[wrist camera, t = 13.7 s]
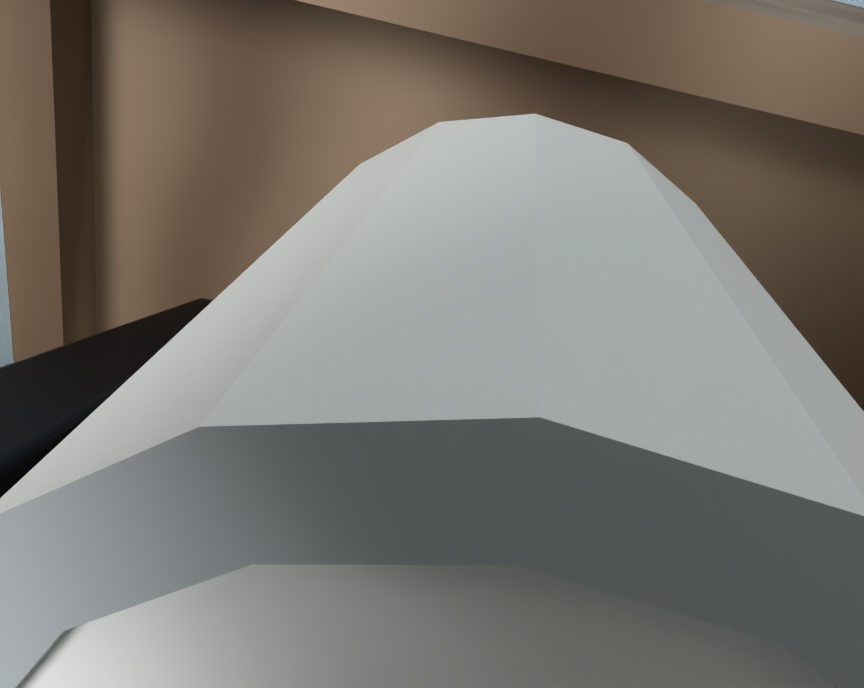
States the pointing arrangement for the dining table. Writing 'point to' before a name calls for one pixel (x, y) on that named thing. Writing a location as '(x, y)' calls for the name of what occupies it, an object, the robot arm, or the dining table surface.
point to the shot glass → (459, 454)
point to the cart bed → (408, 133)
